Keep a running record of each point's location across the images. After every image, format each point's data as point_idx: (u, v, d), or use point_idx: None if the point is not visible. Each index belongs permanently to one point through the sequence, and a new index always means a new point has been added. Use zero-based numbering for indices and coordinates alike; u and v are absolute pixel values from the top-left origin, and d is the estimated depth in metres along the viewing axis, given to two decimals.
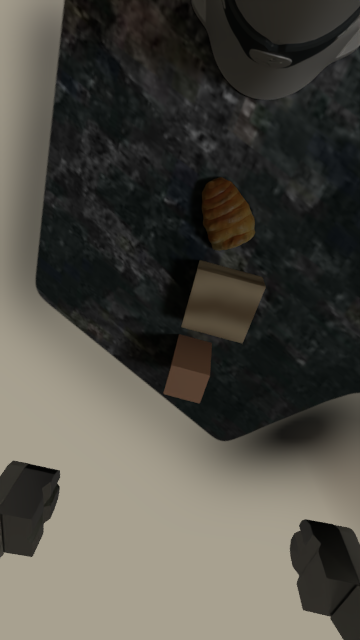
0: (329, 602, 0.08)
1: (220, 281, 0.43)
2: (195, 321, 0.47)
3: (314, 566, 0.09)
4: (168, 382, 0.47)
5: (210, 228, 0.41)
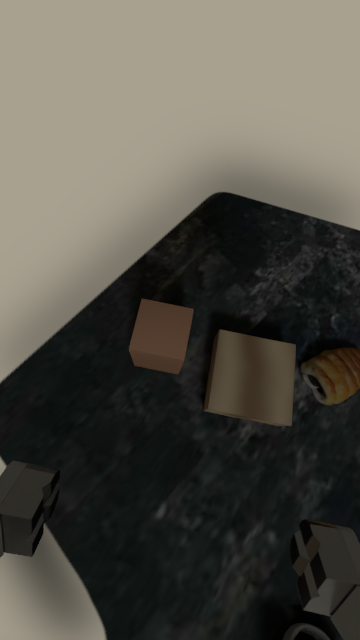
0: (329, 602, 0.08)
1: (286, 371, 0.37)
2: (230, 346, 0.38)
3: (314, 566, 0.09)
4: (163, 305, 0.34)
5: (331, 355, 0.40)
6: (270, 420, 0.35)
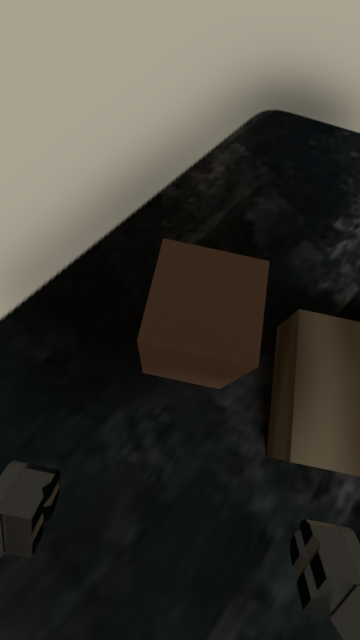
0: (329, 602, 0.08)
1: None
2: (320, 339, 0.21)
3: (314, 566, 0.09)
4: (207, 252, 0.17)
5: None
6: None
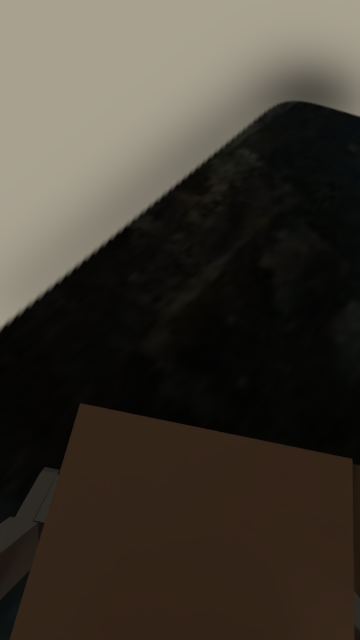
0: None
1: None
2: None
3: None
4: (194, 440, 0.06)
5: None
6: None
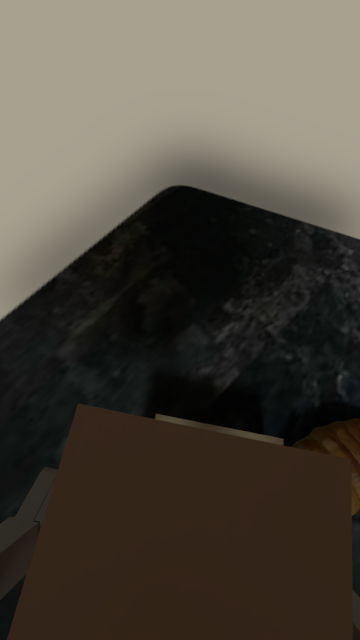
0: None
1: None
2: None
3: None
4: (192, 440, 0.06)
5: (328, 442, 0.24)
6: None
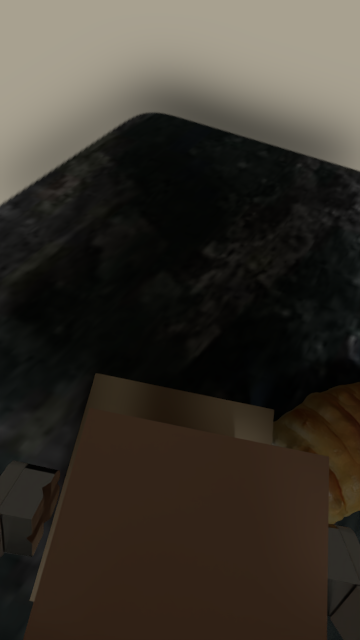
0: (329, 602, 0.08)
1: None
2: None
3: None
4: (190, 440, 0.07)
5: (327, 410, 0.18)
6: None
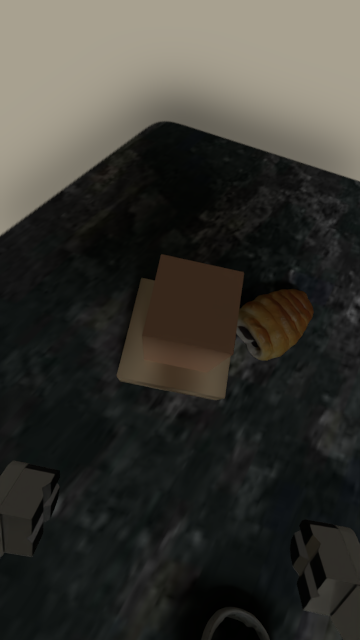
0: (329, 602, 0.08)
1: None
2: None
3: (314, 565, 0.09)
4: (196, 265, 0.21)
5: (264, 299, 0.32)
6: (197, 391, 0.27)
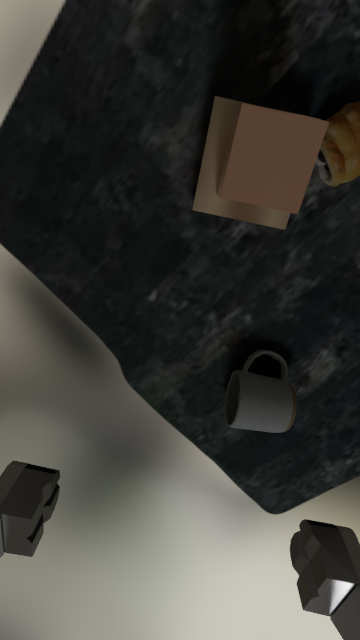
0: (329, 602, 0.08)
1: None
2: (226, 124, 0.28)
3: (314, 566, 0.09)
4: (278, 115, 0.20)
5: (352, 114, 0.28)
6: (262, 223, 0.32)
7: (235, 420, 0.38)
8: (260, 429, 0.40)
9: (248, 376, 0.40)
